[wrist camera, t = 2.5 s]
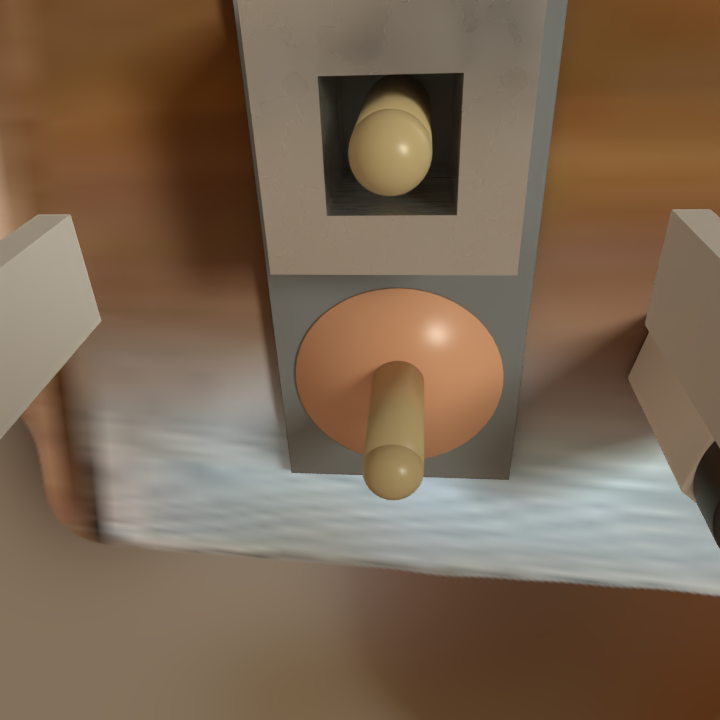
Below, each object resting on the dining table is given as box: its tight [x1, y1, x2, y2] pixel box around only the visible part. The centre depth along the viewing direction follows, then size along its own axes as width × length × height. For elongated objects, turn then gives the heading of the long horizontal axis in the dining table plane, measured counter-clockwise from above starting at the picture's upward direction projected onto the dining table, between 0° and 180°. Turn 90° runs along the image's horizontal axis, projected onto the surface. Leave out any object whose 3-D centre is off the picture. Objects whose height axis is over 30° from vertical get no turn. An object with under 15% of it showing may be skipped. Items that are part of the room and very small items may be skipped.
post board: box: [233, 0, 568, 500], centre depth 30 cm, size 30×14×10 cm, turn 2°
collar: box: [237, 0, 547, 275], centre depth 26 cm, size 10×10×7 cm
